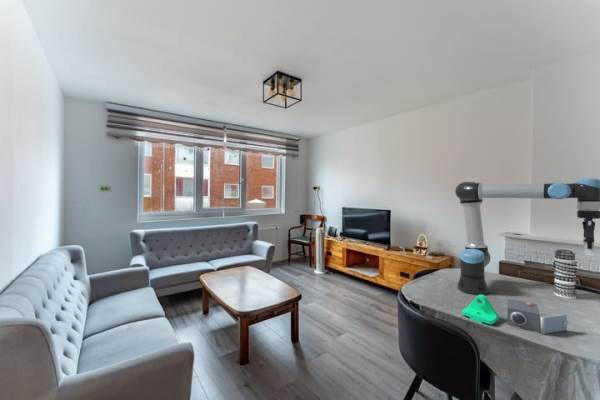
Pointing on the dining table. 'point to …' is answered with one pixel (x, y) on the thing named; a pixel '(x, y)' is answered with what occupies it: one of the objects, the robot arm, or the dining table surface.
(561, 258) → the decorative candle
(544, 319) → the side door
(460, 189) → the robot arm
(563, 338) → the dining table surface
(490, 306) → the camera mount
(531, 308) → the housing
